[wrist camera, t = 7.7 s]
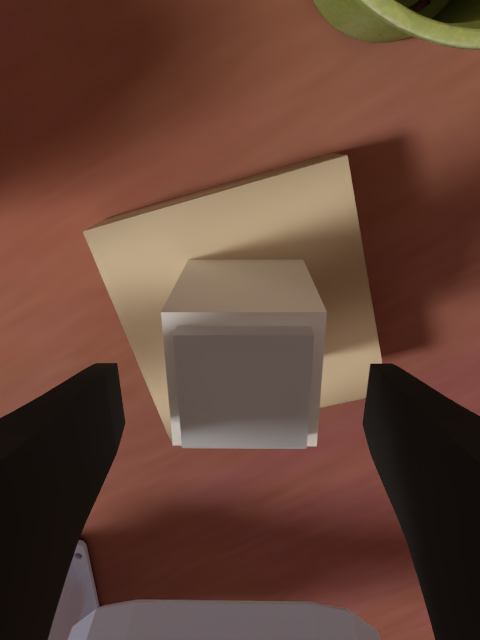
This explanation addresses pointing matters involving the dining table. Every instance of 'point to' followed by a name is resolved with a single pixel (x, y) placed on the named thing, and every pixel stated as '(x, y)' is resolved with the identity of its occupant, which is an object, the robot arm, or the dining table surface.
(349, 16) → the plant pot
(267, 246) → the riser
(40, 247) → the dining table surface
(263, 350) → the white rectangular block
